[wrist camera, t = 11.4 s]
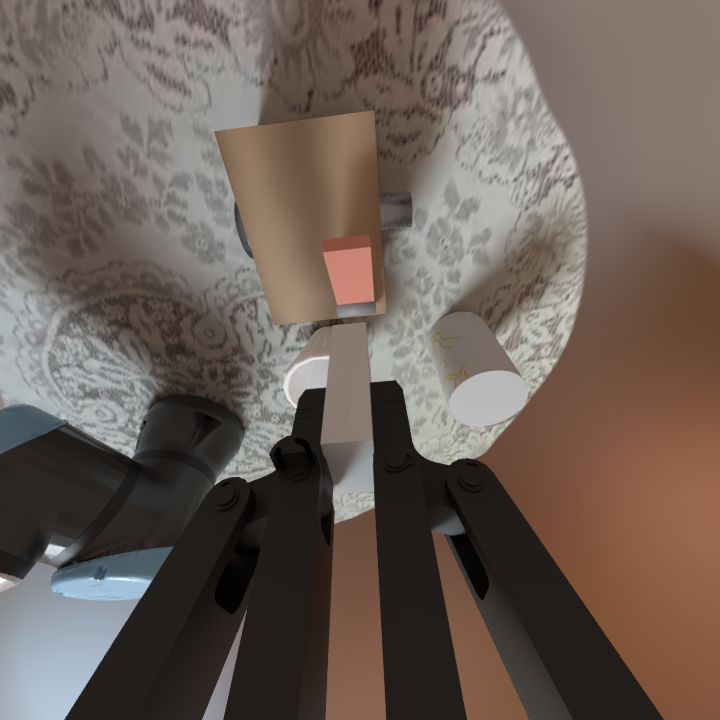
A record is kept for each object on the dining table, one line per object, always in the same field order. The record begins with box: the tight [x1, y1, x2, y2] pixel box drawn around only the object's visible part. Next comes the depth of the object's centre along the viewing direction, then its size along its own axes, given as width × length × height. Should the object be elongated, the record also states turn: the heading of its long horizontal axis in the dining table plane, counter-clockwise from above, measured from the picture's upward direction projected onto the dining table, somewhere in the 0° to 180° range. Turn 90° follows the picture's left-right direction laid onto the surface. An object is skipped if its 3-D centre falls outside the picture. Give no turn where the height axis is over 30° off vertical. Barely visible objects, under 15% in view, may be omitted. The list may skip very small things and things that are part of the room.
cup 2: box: [427, 311, 528, 426], centre depth 37 cm, size 8×8×12 cm
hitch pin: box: [234, 192, 412, 259], centre depth 28 cm, size 15×5×5 cm, turn 96°
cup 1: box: [283, 326, 332, 409], centre depth 39 cm, size 10×10×9 cm
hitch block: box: [214, 110, 386, 325], centre depth 28 cm, size 10×14×11 cm
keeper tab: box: [322, 234, 377, 318], centre depth 23 cm, size 3×8×2 cm
